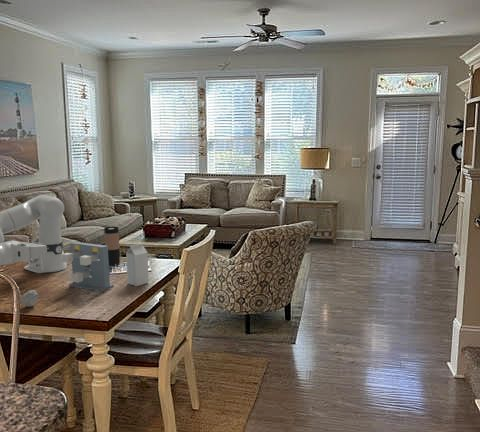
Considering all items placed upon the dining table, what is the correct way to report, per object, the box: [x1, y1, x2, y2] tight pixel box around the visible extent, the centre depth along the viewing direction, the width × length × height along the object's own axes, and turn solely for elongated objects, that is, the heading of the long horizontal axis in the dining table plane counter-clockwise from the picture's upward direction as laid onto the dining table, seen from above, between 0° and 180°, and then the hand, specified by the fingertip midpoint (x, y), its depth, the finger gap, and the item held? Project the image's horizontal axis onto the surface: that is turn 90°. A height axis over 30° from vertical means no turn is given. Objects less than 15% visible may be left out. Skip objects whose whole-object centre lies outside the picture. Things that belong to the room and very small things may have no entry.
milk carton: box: [125, 242, 150, 287], centre depth 223 cm, size 7×7×19 cm
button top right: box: [80, 253, 100, 266], centre depth 212 cm, size 4×10×4 cm, turn 153°
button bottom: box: [71, 270, 91, 283], centre depth 216 cm, size 4×10×4 cm, turn 153°
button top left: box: [62, 251, 81, 264], centre depth 217 cm, size 4×10×4 cm, turn 153°
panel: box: [68, 241, 115, 292], centre depth 219 cm, size 20×8×20 cm, turn 63°
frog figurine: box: [20, 289, 39, 308], centre depth 194 cm, size 6×7×7 cm
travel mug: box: [103, 226, 121, 266], centre depth 258 cm, size 8×8×20 cm
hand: (40, 244), depth 200 cm, fingers closed
